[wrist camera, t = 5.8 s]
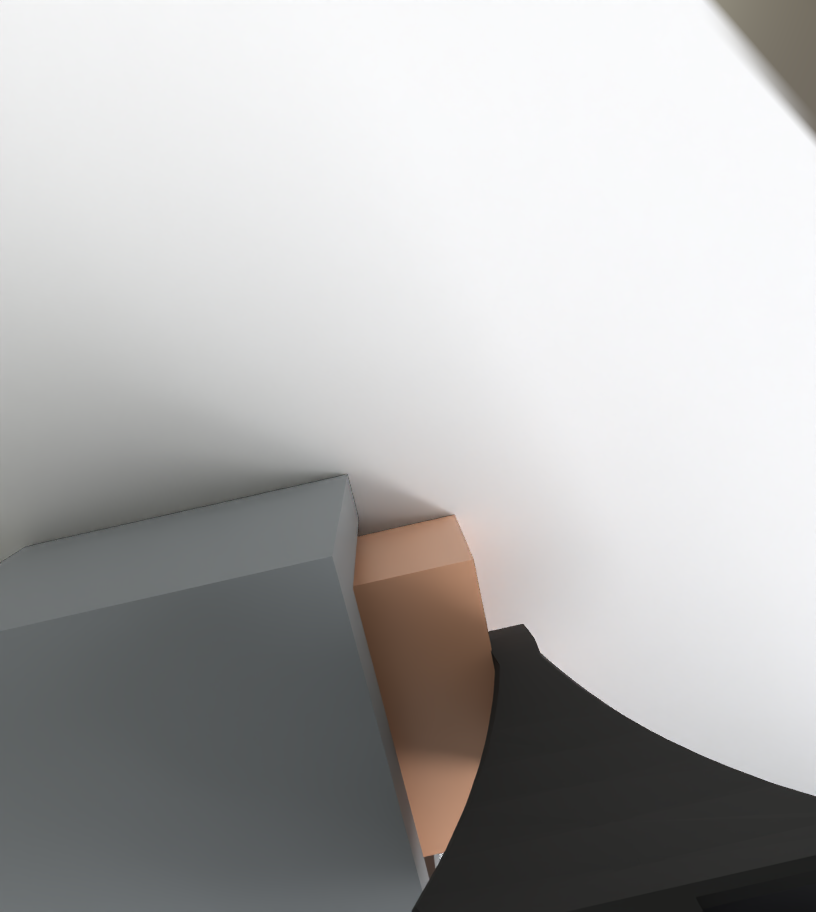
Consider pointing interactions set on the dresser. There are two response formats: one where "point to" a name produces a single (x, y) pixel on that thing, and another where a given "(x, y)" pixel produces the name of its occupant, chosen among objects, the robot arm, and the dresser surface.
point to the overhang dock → (200, 719)
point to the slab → (428, 663)
